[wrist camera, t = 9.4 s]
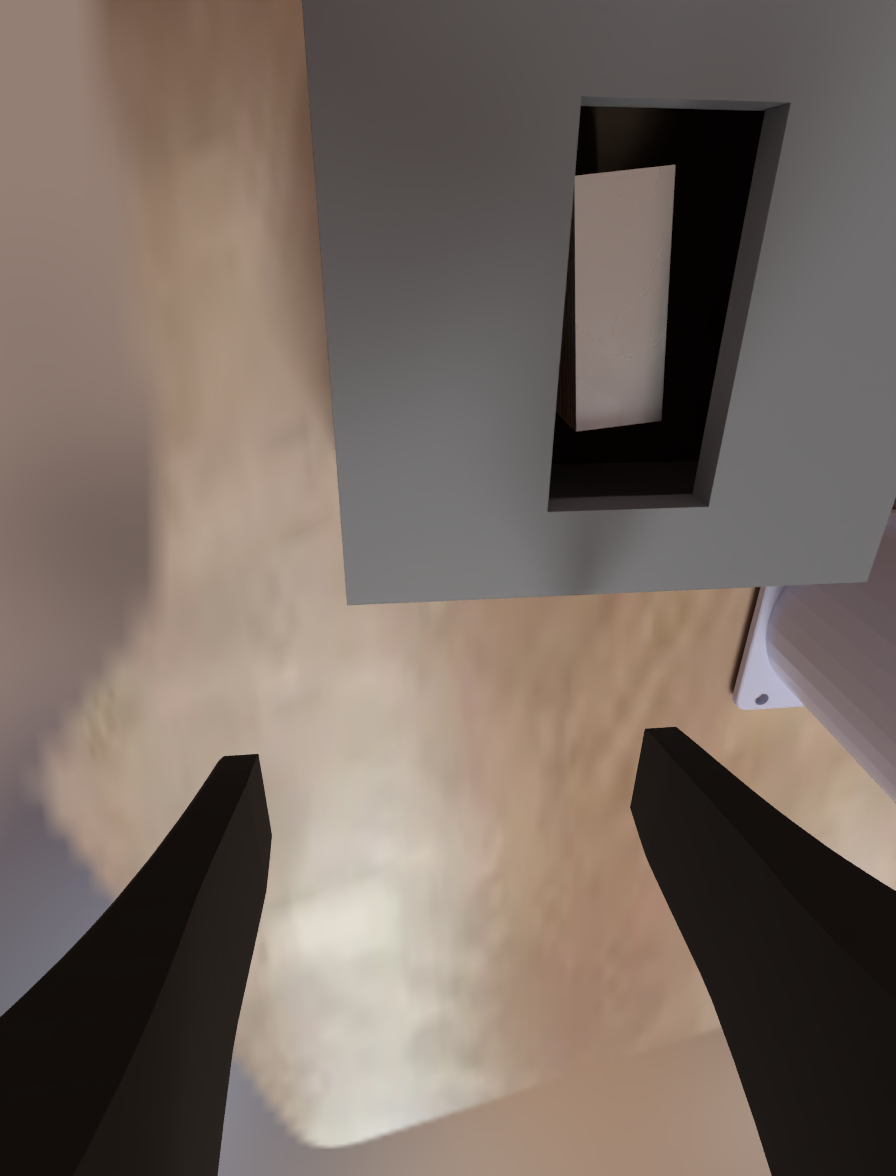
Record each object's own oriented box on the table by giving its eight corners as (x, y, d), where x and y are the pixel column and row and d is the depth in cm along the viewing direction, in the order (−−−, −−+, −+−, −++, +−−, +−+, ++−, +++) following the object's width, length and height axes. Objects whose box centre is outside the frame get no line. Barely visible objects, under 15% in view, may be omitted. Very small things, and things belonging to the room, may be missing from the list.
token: (597, 184, 17) (675, 164, 13) (596, 380, 20) (661, 420, 15) (522, 192, 17) (574, 175, 13) (530, 388, 19) (576, 431, 15)
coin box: (814, 59, 16) (1082, -49, 10) (724, 483, 21) (866, 581, 15) (325, 42, 15) (294, -92, 9) (354, 494, 20) (346, 605, 14)
